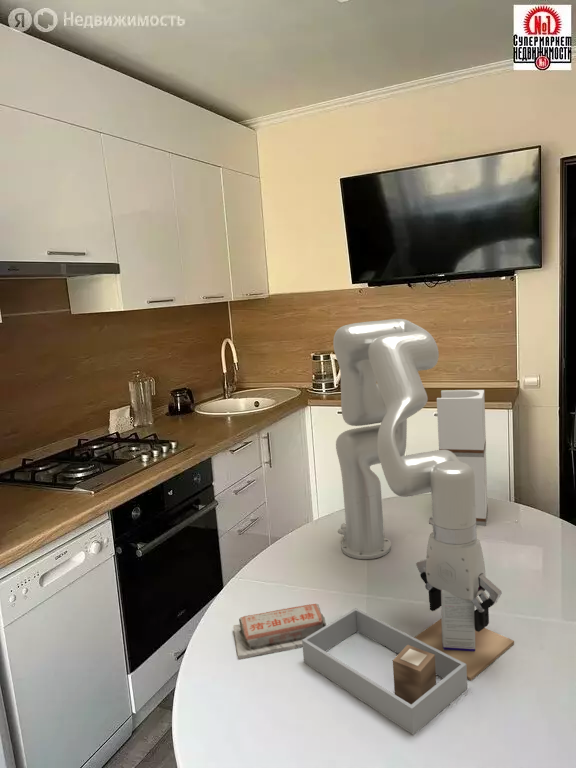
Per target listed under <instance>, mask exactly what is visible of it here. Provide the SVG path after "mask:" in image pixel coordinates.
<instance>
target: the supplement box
mask: <svg viewBox="0 0 576 768" xmlns="http://www.w3.org/2000/svg"><path fill="white" fill-rule="evenodd" d="M440 608H441V610H440V611H441V618H440V619H442V643H443V650H453V651H475V620H474V611H475V610H476V607H475V605H474V603H473V602H472V600H471V601H468V600H464V599H461V598H459V597H456V596H454V595H452V594H450V593H449V592H447V591H445V590H441V607H440Z"/></svg>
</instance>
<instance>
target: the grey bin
mask: <svg viewBox="0 0 576 768" xmlns="http://www.w3.org/2000/svg"><path fill="white" fill-rule="evenodd" d="M357 632H358V633H360V634H362V635H363V636H365V637H368V638H369V639H370V640H373V641H375V642H377V643H378V644H380V645H382V646H383V647H385V646H386V648H387V649H389V650H391V651H393V652H394V653H397V655H398V654H399V653H400V652H401V651H402V650H403V649H404V648H405V647H406V646H407V645H410V646H413V647H415V648H418V649H421V650H423V651H426V652H429V653H432V654H434V655H435V669H436V676H439V677H440V678H442V679H441V680H439V682H436V685H435V686H434V687H432V688H431V689H430V690H429V691H427V692H426V693H425V694H424V695H423V696H421V697H420V698H419V699H418V700H416V701H415V702H414V703H413V704H409V703H408V702H406V701H405V700H403V699H401V698H400V697H398V696H396V695H395V693H394V692H392V691H390V690H389V689H386V688H385V687H384V686H382V685H380V684H379V683H377V682H375V681H374V680H372V679H371V678H369V677H367V676H366V675H364V674H362V673H361V672H359V671H358V670H355V668H353V667H351V666H349V665H347V664H346V663H345V662H343V661H341V660H339V659H338V658H336V657H335V656H333V655H332V654H330V653H329V652H327V651H329V650H330V649H332V648H333V647H334V646H336V645H338V644H339V643H341V642H342V641H344V640H345V639H348V638H349V637H351V636H352V635H354V634H355V633H357ZM414 637H415V636H412V635H410V634H408V633H406V632H404V631H402V630H400V629H399V628H396V627H394V626H392V625H390V624H388V623H386V622H385V621H383V620H380V619H378V618H377V617H374V616H372V615H370V614H368V613H367V612H365V611H362V610H360V609H359V608H356V607H355V608H353V609H352V610H350V611H348V612H346V613H345V614H343V615H341V616H339V618H337V619H335V620H333V621H331V622H330V623H328V624H326V626H325V627H323V628H321V629H320V630H318V631H316V632H315V633H313V634H311V635H310V636H308V637H306V638H305V639H303V640H302V646H303V647H302V655H303V663H305V664H306V665H308V666H309V667H311V668H312V669H314V670H315V671H316V672H318V673H320V674H321V675H323V676H324V677H325V678H327V679H329V680H330V681H331V682H333V683H334V684H336V685H338V686H339V687H341V688H342V689H344V690H345V691H347V692H348V693H350V694H351V695H353V696H354V697H356V698H357V699H359V700H360V701H362V702H363V703H365V704H366V705H368V706H369V707H371V708H372V709H373V710H375V711H376V712H378V713H380V714H381V715H382V716H384V717H386V718H387V719H389V720H390V721H392V722H394V723H395V724H397V725H398V726H399V727H401V728H403V729H404V731H407V732H408V733H410V734H412V735H415V734H416V733H417V732H418V731H420V730H421V729H422V728H423V727H425V726H426V725H427V724H428V723H429V722H430V721H431V720H432V719H434V718H435V717H436V716H437V715H438V714H439V713H441V712H442V711H443V710H444V709H445V708H447V707H448V706H449V705H450V704H451V703H452V702H453V701H454V700H456V699H457V698H458V697H459V696H460V695H462V693H464V692H465V691H466V690H468V679H467V668H466V664H465V663H463V662H461V661H459V660H457V659H455V658H453V657H451V656H449V655H447V654H445V653H443V652H442V651H440V650H438V649H436V648H434V647H432V646H430V645H428V644H426V643H424V642H422V641H420V640H418V639H416V638H414Z"/></svg>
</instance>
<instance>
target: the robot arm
mask: <svg viewBox="0 0 576 768" xmlns="http://www.w3.org/2000/svg"><path fill="white" fill-rule="evenodd" d="M332 343H333V351H334V354H335V358H336V360H337V363H338V366H339V371H340V405H341V416H342V418H343V421H344V423H346V425H349V426H352V427H357V428H351V429H347V430H344V431H343V432H342V433H340V434H339V435H338V436H337V438H336V440H335V450H336V455H337V458H338V463H339V467H340V472H341V473H340V474H341V482H342V493H343V503H344V504H343V505H344V506H343V507H344V517H345V519H344V520H345V522H343V523H342V524H341V525H340V528H338V530H337V533H338V534H339V535H341V536H342V535H343V538H344V539H343V541H342V542H341V545H340V546H341V551H342V553H343V554H345V555H346V556H348V557H350V558H354V559H358V560H372V559H376V558H380V557H383V556H385V555H387V554H388V553H389V552H390V551H391V549H392V543H391V541H390V539H388V538H387V537H385V529H384V528H385V527H384V515H383V514H384V512H383V498H382V483H381V479H380V478H379V476H378V475H377V474H376V473H375V472H374V471H372V470H371V466H373V465H374V466H375V465H378V464H379V465H381V469H382V472H383V475H384V478H385V480H386V483H387V485H388V487H389V488H390V490H391V491H392V492H393V494H394V495H396V496H397V497H405V498H408V497H413V496H419V495H423V494H428V493H429V494H431V510H432V511H431V513H432V514H431V515H432V516H431V517H429V518H428V524H429V525H431V526H432V529H433V530H432V532H431V533H429V537H428V543H427V547H426V556H425V557H426V558H424V559H421V560H418V561H417V562H416V563H415V564H416V567H417V570H418V572H419V573H420V575H419V576H420V578H421V579H422V582H423V583H424V584H425V585H424V588H425V589H426V590H427V591H428V602H429V611H431V612H434V611H436V610H438V609H439V608H441V590H445V591H447V592H449V593H450V594H452V595H454V596H456V597H459V598H461V599H464V600H468V601H471V600H472V602H473V603H474V605H475V611H474V620H475V630H476V631H477V632H480V631H481V630H482V629H483V628H486V627H487V626H488V625H489V623H490V619H489V617H490V614H489V610H490V608H491V607H492V606H495V605H496V604H497V602H498V601H499V599H500V598H501V596H502V594H503V593H502V590H501V589H500V588H499V587H498V586H497V585H496V584H495V583H493V582H492V581H491V580H490V579H489V578H487V576H486V574H487V573H486V567H485V565H486V564H485V557H484V554H483V549H482V544H481V540H479V539H478V536H477V535H478V532H477V525H476V504H475V475H474V470H473V468H472V467H471V466H470V465H468V464H467V463H464V462H461V461H460V460H459V459H458V458H457V457H456V455H455V454H454V453H452V452H451V451H449V450H439V449H437V450H436V449H435V450H429V451H422V452H418V453H411V454H407V455H405V454H406V450H407V438H408V437H407V431H408V430H407V429H408V426H407V425H408V419H409V418H410V417H412V416H414V415H415V414H416V413H418V412H419V411H421V410H422V409H423V408H424V407H425V406H426V404H427V403H428V400H429V399H428V394H427V391H426V389H425V387H424V384H423V381H422V379H421V376H420V373H419V372H420V371H427V370H431V369H433V368H435V366H437V364H438V361H439V357H440V356H439V355H440V353H439V346H438V344H437V342H436V340H435V338H434V337H433V335H432V334H431V333H430V332H429V331H427V330H426V329H425V328H423V327H422V326H420V325H418V324H415V323H413V322H412V321H410V320H408V319H406V318H405V319H404V318H393V319H383V320H381V319H380V320H372V321H364V322H363V321H362V322H354V323H349V324H346V325H342V326H340V327H339V328H337V330H335V333H334V335H333V342H332ZM375 424H376V425H375ZM369 425H370V426H369ZM361 426H362V427H361ZM485 591H486V592H487V593H488V594H489V597H488V595H487V593H486V592H485Z"/></svg>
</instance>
